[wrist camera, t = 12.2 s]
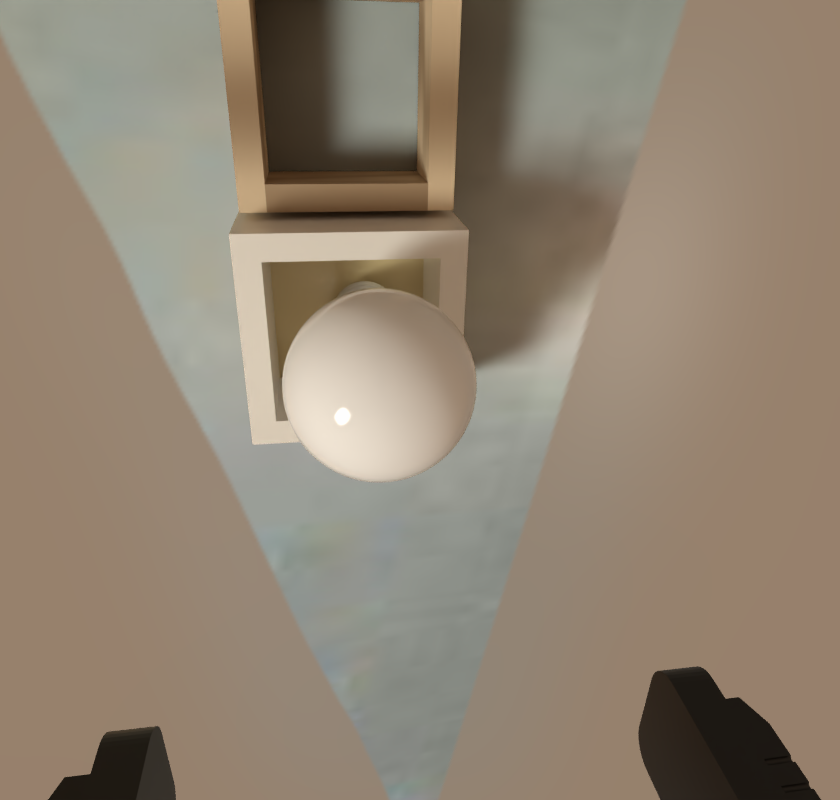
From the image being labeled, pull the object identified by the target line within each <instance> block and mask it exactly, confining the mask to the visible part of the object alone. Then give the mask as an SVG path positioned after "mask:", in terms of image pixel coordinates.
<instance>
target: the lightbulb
mask: <svg viewBox="0 0 840 800" xmlns="http://www.w3.org/2000/svg"><path fill="white" fill-rule="evenodd" d="M476 390H477V381H476V370H475V365H474V361H473V357H472V354H471V351H470V349H469V346H468V344H467V342H466V340H465V338H464V337H463V335H462V333H461V332H460V330H459V329H458V327H457V326H456V325H455V324H454V322H453V321H452V320H451V319H450V318H449V317H448V316H447V315H446V314H445V313H444V312H443V311H441V310H440V309H439V308H438V307H436V306H435V305H433V304H432V303H430V302H429V301H427V300H425V299H423V298H421V297H419V296H417V295H414V294H412V293H408V292H405V291H401V290H396V289H389V288H384V287H383V286H381V285H380V284H377V283H375V282H370V281H359V282H355V283H352V284H350V285H348V286H347V287H345V288H344V289H343V290H342V291H341V292H340V293H339V294H338V296H337V298H335V299H333V300H331V301H330V302H328V303H326V304H325V305H323V306H322V307H321V308H319V309H318V310H317V311H316V312H315V313H314V314H312V315H311V316H310V317H309V318H308V320H307V321H306V322H305V323H304V324H303V325H302V327H301V328H300V329H299V331H298V332H297V334H296V336H295V338H294V339H293V341H292V343H291V345H290V348H289V350H288V353H287V356H286V359H285V363H284V368H283V376H282V394H283V402H284V407H285V411H286V414H287V417H288V420H289V423H290V425H291V427H292V429H293V431H294V433H295V435H296V436H297V438H298V439H299V441H300V442H301V444H302V445H303V446H304V447H305V448H306V450H307V451H308V452H309V453H310V454H311V455H312V456H313V457H314V458H315V459H317V460H318V461H319V462H320V463H322V464H323V465H325V466H326V467H328V468H329V469H331V470H333V471H335V472H337V473H339V474H341V475H343V476H346V477H349V478H352V479H356V480H360V481H366V482H393V481H399V480H403V479H407V478H410V477H413V476H416V475H418V474H420V473H422V472H424V471H426V470H428V469H430V468H431V467H433V466H434V465H436V464H437V463H438V462H440V461H441V460H442V459H443V458H445V457H446V456H447V455H448V454H449V453H450V452H451V451H452V449H453V448H454V447H455V446H456V445H457V443H458V442H459V440H460V439H461V437H462V436H463V434H464V432H465V430H466V428H467V426H468V424H469V422H470V419H471V416H472V413H473V410H474V405H475V400H476Z"/></svg>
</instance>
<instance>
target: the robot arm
mask: <svg viewBox="0 0 840 800" xmlns="http://www.w3.org/2000/svg"><path fill="white" fill-rule="evenodd" d="M639 745H640V751H641V755H642V758H643V762H644V764H645V767H646V769H647V771H648V774H649V776H650V778H651V780H652V782H653V784H654V787H655V789H656V791H657V793H658V795H659V797H660V800H821V799H820V798H819V796H818V795H817V793H816V792H815V790H814V789H811V788H810V786H809V781H808V780H807V778H806V777H805V775H804V774H803V773H802V771H801V770H800V768H799V767H798V765H797V764H796V762H793V761H792V760H791V755H790V753H789V752H788V750H787V749H786V748H785V746H784V745H783V743H782V742H781V740H780V739H779V737H778V736H777V734H776V733H775V731H774V730H773V728H772V727H771V725H770V724H769V723H768V722H767V721H766V720H765V719H763V718H762V717H761V716H760V715H759V714H758V713H756V712H755V711H754V710H753V709H752V708H751V707H749V706H748V705H747V704H746V703H745V702H744V701H742V700H741V699H740V698H738V697H737V698H729V699H725V697H724V696H723V694H722V693H721V691H720V690H719V688H718V686H717V685H716V683H715V682H714V680H713V679H712V677H711V676H710V674H709V673H708V672H707V671H706V670H704V669H703V668H701V667H689V668H681V669H672V670H663V671H657V672H655V673H654V675H653V677H652V680H651V684H650V688H649V692H648V696H647V699H646V703H645V707H644V711H643V714H642V718H641V722H640V726H639ZM48 800H176V794H175V785H174V781H173V777H172V772H171V768H170V764H169V760H168V757H167V753H166V749H165V744H164V740H163V736H162V732H161V730H160V728H159V727H158V726H155V727H147V728H137V729H129V730H120V731H111V732H107V733H106V734H105V735H104V736H103V738H102V740H101V742H100V745H99V748H98V751H97V755H96V758H95V761H94V764H93V768H92V771H91V774H89V775H81V776H72V777H65V778H64V779H63V780H62V782H61V783H60V784H59V786H58V787H57V788H56V790H55V791H54V793H53V794H52V795H51V797H50V798H49V799H48Z"/></svg>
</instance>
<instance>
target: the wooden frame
mask: <svg viewBox="0 0 840 800" xmlns="http://www.w3.org/2000/svg"><path fill="white" fill-rule="evenodd" d="M355 1H387V2H419V65H418V132H417V171H274V172H269V165H268V153H267V141H266V129H265V117H264V105H263V93H262V80H261V68H260V56H259V44H258V32H257V20H256V8H255V0H217V6H218V15H219V25H220V34H221V44H222V53H223V63H224V72H225V82H226V92H227V101H228V111H229V120H230V130H231V139H232V149H233V158H234V168H235V177H236V187H237V196H238V206H239V213H273V212H354V211H434V210H453V208H454V183H455V158H456V133H457V108H458V83H459V58H460V34H461V9H462V0H355Z"/></svg>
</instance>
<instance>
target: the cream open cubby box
mask: <svg viewBox="0 0 840 800" xmlns="http://www.w3.org/2000/svg"><path fill="white" fill-rule="evenodd" d="M229 240H230V249H231V258H232V267H233V276H234V284H235V293H236V302H237V311H238V320H239V329H240V337H241V346H242V355H243V364H244V373H245V381H246V390H247V399H248V408H249V417H250V425H251V434H252V443H253V445H255V444H272V443H289V442H300V441H299V439H298V438H297V436H296V435H295V433H294V431H293V429H292V427H291V425H290V423H289V420H288V417H287V414H286V411H285V407H284V402H283V394H282V376H283V368H284V363H285V359H286V356H287V353H288V350H289V348H290V345H291V343H292V341H293V339H294V338H295V336H296V334H297V332H298V331H299V329H300V328H301V327H302V325H303V324H304V323H305V322H306V321H307V320H308V318H309V317H310V316H311V315H312V314H314V313H315V312H316V311H317V310H318V309H319V308H321V307H322V306H323V305H325V304H326V303H328V302H330V301H331V300H333V299H335V298H337V296H338V294H339V293H340V292H341V291H342V290H343V289H344V288H345V287H347V286H348V285H350V284H352V283H355V282H359V281H370V282H375V283H377V284H380V285H381V286H383V287H384V288H389V289H396V290H401V291H405V292H408V293H412V294H414V295H417V296H419V297H421V298H423V299H425V300H427V301H429V302H430V303H432V304H433V305H435V306H436V307H438V308H439V309H440V310H441V311H443V312H444V313H445V314H446V315H447V316H448V317H449V318H450V319H451V320H452V321H453V322H454V324H455V325H456V326H457V327H458V329H459V330H460V332H461V333H462V335H463V337H464V319H465V300H466V281H467V261H468V242H469V230H468V228H467V227H466V226H465V225H464V224H463V223H462V222H461V221H460V220H459V218H458V217H457V216H456V215H455V214H454V213H453V212H452V211H451V210H434V211H354V212H273V213H239V212H238V215H237V217H236V219H235V221H234V224H233V226H232V228H231V230H230V233H229Z"/></svg>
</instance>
